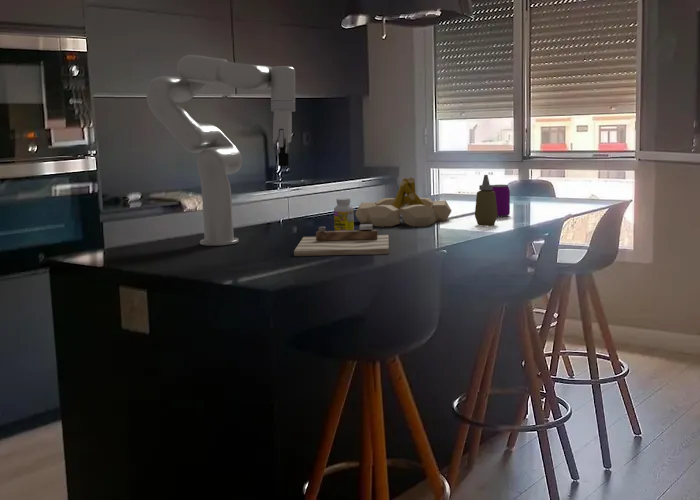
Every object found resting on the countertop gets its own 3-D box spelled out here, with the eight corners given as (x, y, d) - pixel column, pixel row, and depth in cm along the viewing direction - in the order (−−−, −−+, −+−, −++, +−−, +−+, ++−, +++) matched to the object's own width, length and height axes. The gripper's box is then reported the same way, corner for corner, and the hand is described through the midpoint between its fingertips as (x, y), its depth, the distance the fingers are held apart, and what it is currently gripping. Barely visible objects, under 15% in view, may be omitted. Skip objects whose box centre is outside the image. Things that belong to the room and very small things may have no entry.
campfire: (421, 230, 292) (420, 181, 289) (341, 225, 310) (339, 180, 308) (464, 218, 321) (463, 174, 318) (388, 214, 339) (387, 172, 336)
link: (315, 240, 262) (315, 232, 261) (316, 238, 266) (316, 231, 265) (377, 239, 261) (377, 231, 261) (377, 237, 265) (377, 229, 265)
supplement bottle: (330, 236, 281) (329, 199, 279) (343, 234, 286) (342, 197, 284) (344, 238, 277) (343, 200, 275) (358, 235, 282) (357, 198, 279)
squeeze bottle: (487, 227, 292) (487, 176, 289) (470, 225, 298) (469, 175, 295) (502, 224, 297) (502, 174, 294) (484, 223, 303) (484, 173, 300)
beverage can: (487, 217, 319) (487, 186, 317) (492, 214, 326) (492, 184, 324) (507, 217, 316) (507, 186, 314) (511, 215, 323) (511, 184, 321)
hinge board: (303, 241, 273) (302, 223, 272) (388, 239, 272) (388, 221, 271) (294, 256, 246) (293, 236, 245) (388, 253, 244) (388, 233, 243)
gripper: (274, 106, 265) (274, 163, 268) (267, 106, 250) (268, 167, 254) (297, 106, 265) (297, 164, 268) (292, 107, 250) (292, 168, 253)
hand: (283, 165), depth 261 cm, fingers closed
